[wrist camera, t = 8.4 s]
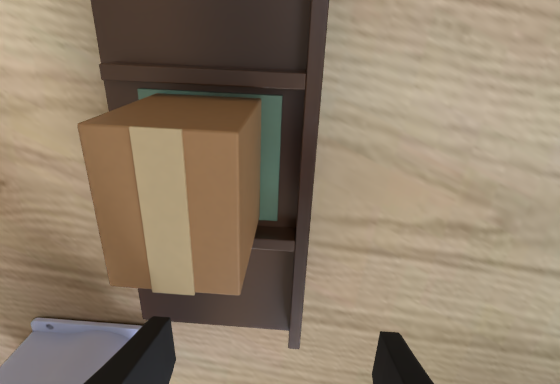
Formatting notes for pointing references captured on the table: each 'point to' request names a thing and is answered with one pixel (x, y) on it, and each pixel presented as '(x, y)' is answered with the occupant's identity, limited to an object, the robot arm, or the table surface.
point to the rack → (274, 126)
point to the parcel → (176, 191)
